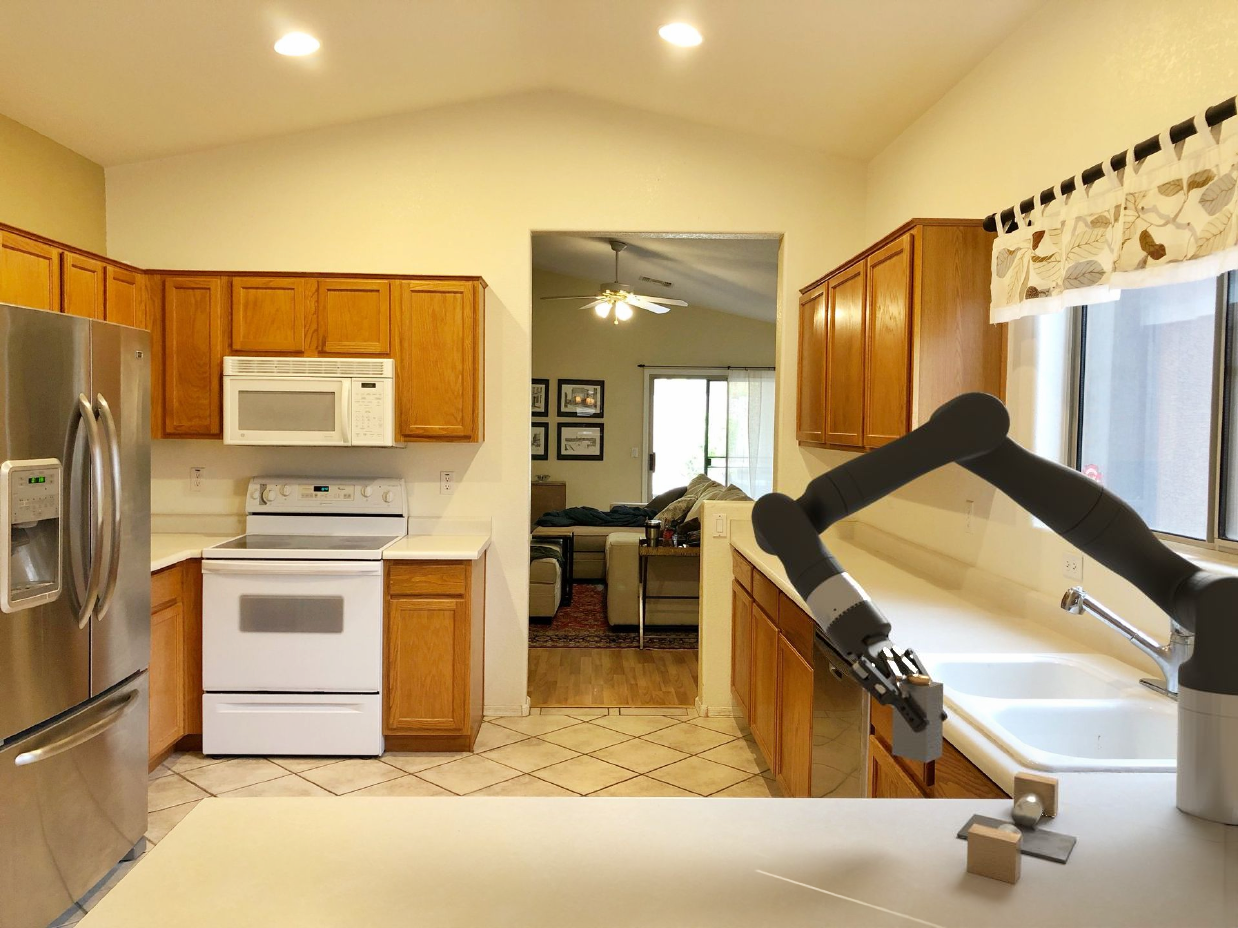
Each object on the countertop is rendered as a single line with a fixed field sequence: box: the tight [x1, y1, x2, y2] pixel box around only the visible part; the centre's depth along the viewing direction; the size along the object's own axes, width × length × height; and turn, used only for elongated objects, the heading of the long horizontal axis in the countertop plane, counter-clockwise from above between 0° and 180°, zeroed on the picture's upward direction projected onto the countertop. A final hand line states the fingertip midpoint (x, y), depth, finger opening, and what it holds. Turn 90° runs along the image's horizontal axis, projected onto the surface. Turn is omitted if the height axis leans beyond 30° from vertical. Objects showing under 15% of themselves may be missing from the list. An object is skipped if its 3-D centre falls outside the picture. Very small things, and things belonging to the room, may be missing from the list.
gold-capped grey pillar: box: [891, 674, 944, 764], centre depth 108 cm, size 4×4×10 cm
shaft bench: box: [956, 771, 1077, 885], centre depth 107 cm, size 29×12×4 cm, turn 145°
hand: (932, 724), depth 106 cm, fingers closed on gold-capped grey pillar, 4 cm apart
